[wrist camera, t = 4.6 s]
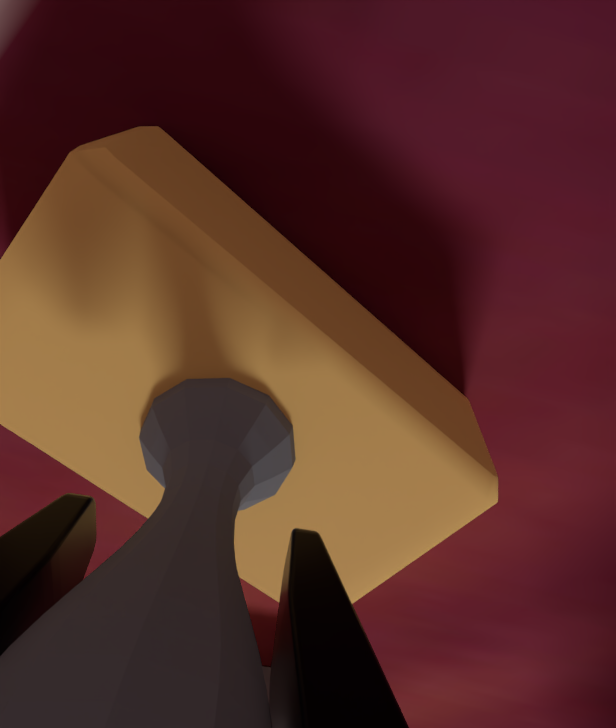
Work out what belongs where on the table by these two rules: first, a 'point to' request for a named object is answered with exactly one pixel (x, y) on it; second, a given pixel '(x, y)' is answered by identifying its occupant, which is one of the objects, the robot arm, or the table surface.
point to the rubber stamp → (206, 434)
